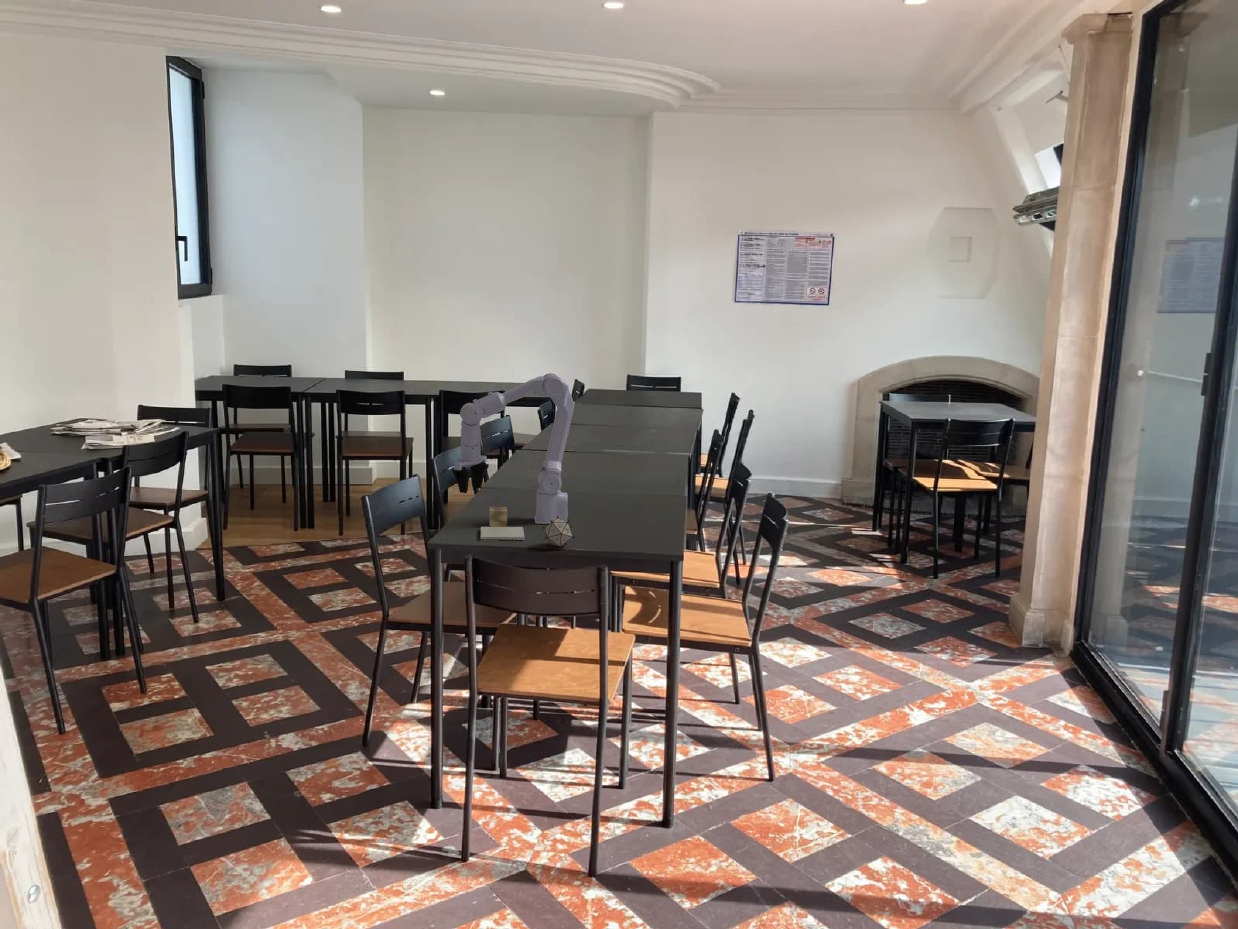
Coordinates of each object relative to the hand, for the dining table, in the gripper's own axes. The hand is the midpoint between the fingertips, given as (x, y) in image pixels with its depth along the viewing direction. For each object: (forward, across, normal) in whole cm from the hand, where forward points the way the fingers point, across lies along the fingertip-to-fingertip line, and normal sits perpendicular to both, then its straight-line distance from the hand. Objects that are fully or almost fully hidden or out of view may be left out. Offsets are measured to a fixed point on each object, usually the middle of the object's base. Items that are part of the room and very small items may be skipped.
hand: (470, 490), depth 277 cm
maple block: (+10, -2, +9) cm, 13 cm away
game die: (+10, +10, +34) cm, 37 cm away
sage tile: (+10, +8, +16) cm, 20 cm away
